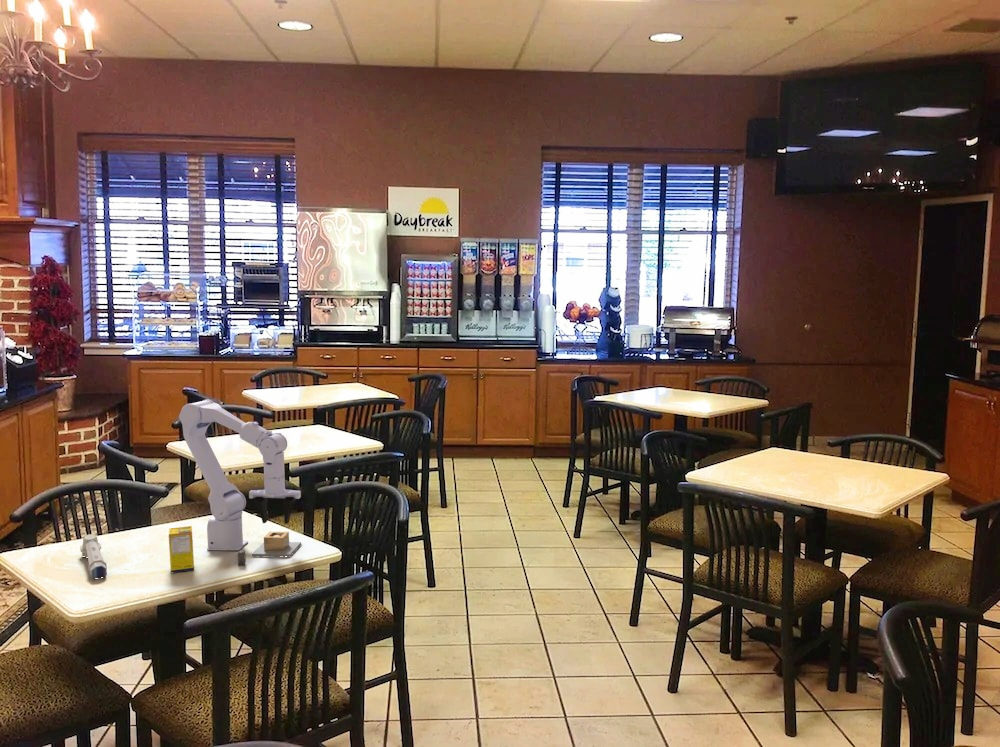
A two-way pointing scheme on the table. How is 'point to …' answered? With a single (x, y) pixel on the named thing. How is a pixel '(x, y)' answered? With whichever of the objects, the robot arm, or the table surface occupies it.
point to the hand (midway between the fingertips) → (276, 522)
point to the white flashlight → (94, 556)
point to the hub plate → (286, 552)
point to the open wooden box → (276, 541)
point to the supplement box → (181, 549)
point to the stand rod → (241, 558)
